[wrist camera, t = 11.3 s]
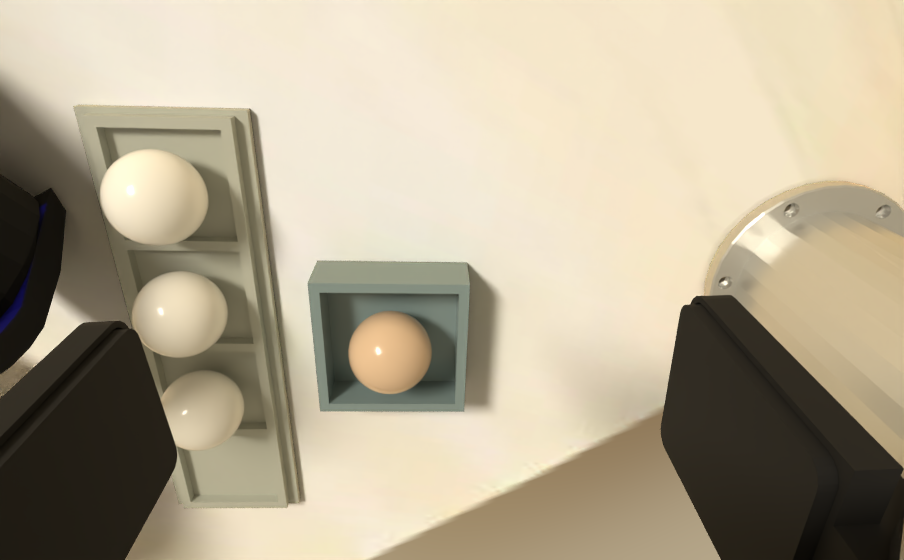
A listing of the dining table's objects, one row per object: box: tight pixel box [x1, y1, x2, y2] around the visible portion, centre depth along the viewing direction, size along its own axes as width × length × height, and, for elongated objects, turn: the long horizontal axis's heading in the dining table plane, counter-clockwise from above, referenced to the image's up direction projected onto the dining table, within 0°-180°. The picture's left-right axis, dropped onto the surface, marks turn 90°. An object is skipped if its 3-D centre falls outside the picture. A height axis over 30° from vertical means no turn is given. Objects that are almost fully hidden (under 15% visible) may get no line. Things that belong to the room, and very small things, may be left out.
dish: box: [308, 261, 470, 411], centre depth 36 cm, size 9×9×3 cm
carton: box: [73, 105, 300, 508], centre depth 36 cm, size 9×29×1 cm, turn 178°
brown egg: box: [348, 311, 432, 394], centre depth 34 cm, size 5×5×5 cm
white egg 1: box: [100, 149, 208, 246], centre depth 30 cm, size 5×5×5 cm
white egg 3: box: [161, 370, 244, 451], centre depth 36 cm, size 5×5×5 cm
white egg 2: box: [132, 271, 228, 358], centre depth 33 cm, size 5×5×5 cm
